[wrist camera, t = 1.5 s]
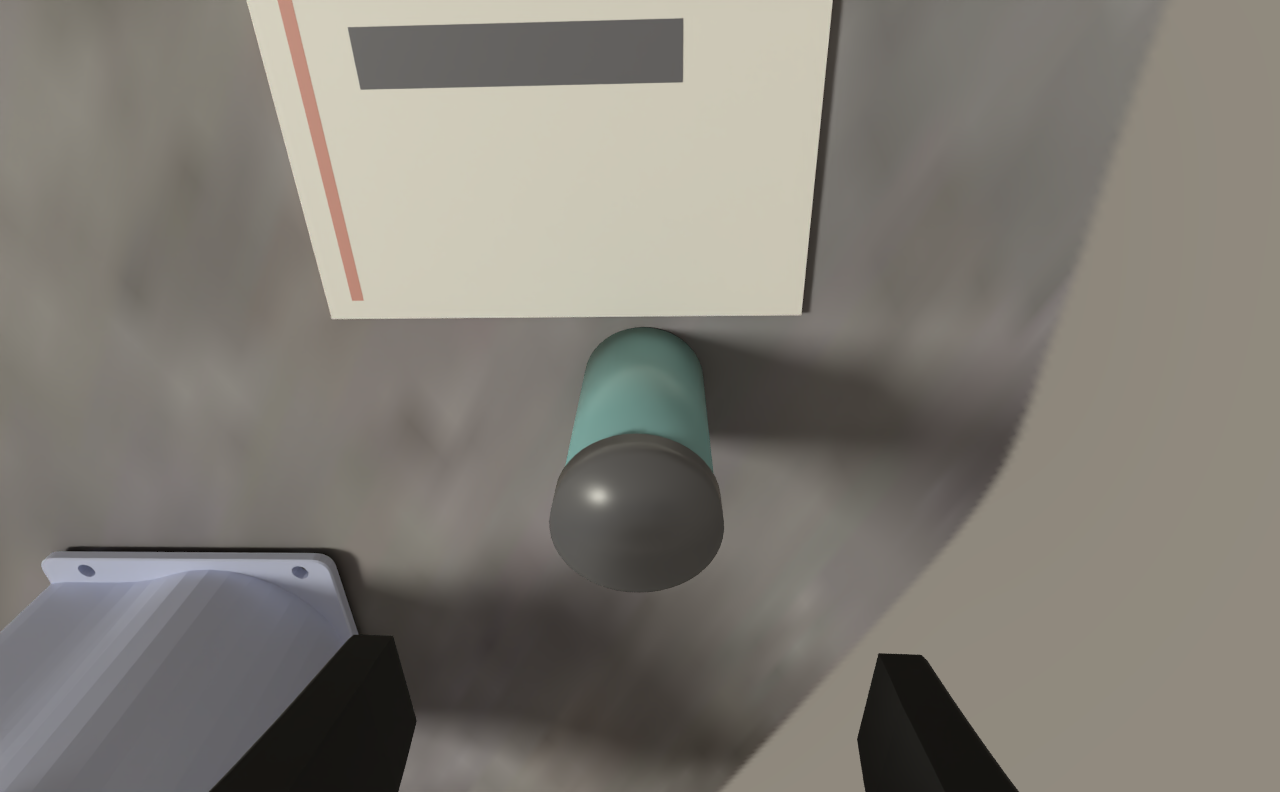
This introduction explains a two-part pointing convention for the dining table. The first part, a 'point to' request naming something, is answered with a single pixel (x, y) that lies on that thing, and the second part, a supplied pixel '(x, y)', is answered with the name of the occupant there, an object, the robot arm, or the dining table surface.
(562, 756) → the dining table surface
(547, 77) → the paper
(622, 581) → the teal cylinder
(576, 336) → the dining table surface
